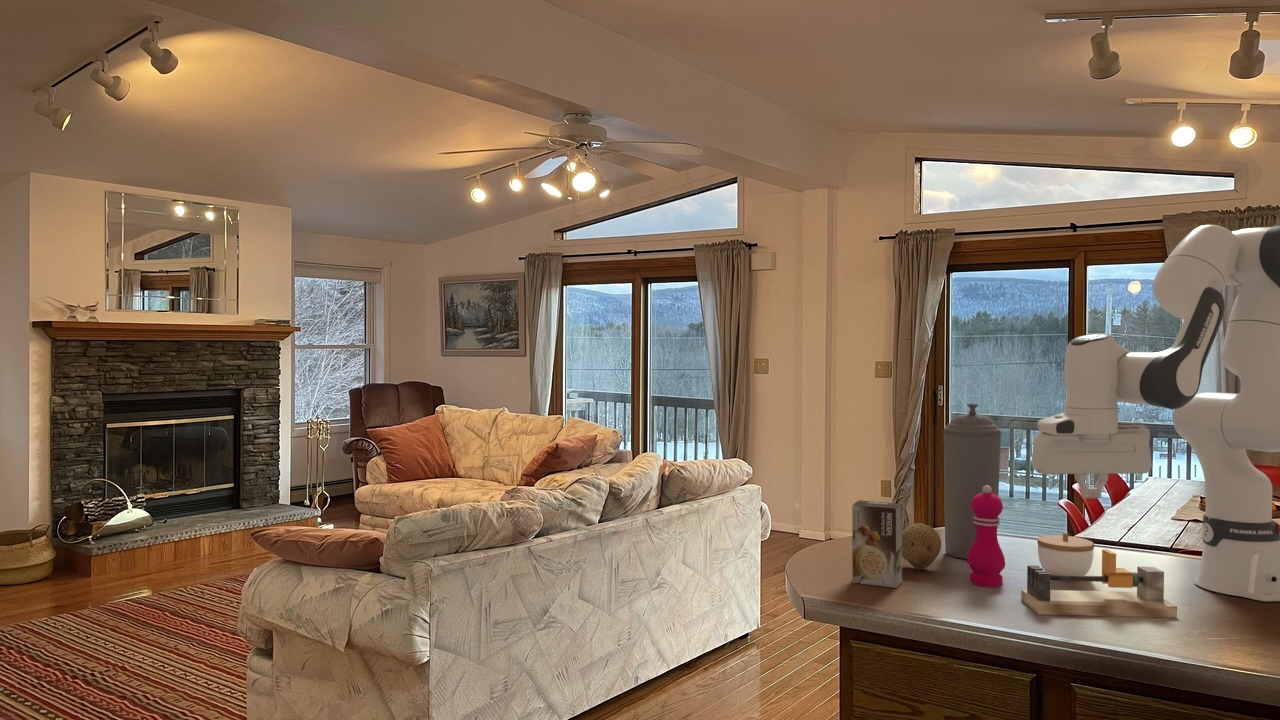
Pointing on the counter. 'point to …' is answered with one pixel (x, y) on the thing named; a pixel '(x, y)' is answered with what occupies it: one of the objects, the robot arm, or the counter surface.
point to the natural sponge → (920, 545)
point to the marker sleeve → (1115, 571)
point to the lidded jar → (1065, 554)
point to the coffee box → (877, 543)
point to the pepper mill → (986, 541)
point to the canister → (967, 475)
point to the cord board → (1098, 595)
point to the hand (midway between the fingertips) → (1091, 497)
